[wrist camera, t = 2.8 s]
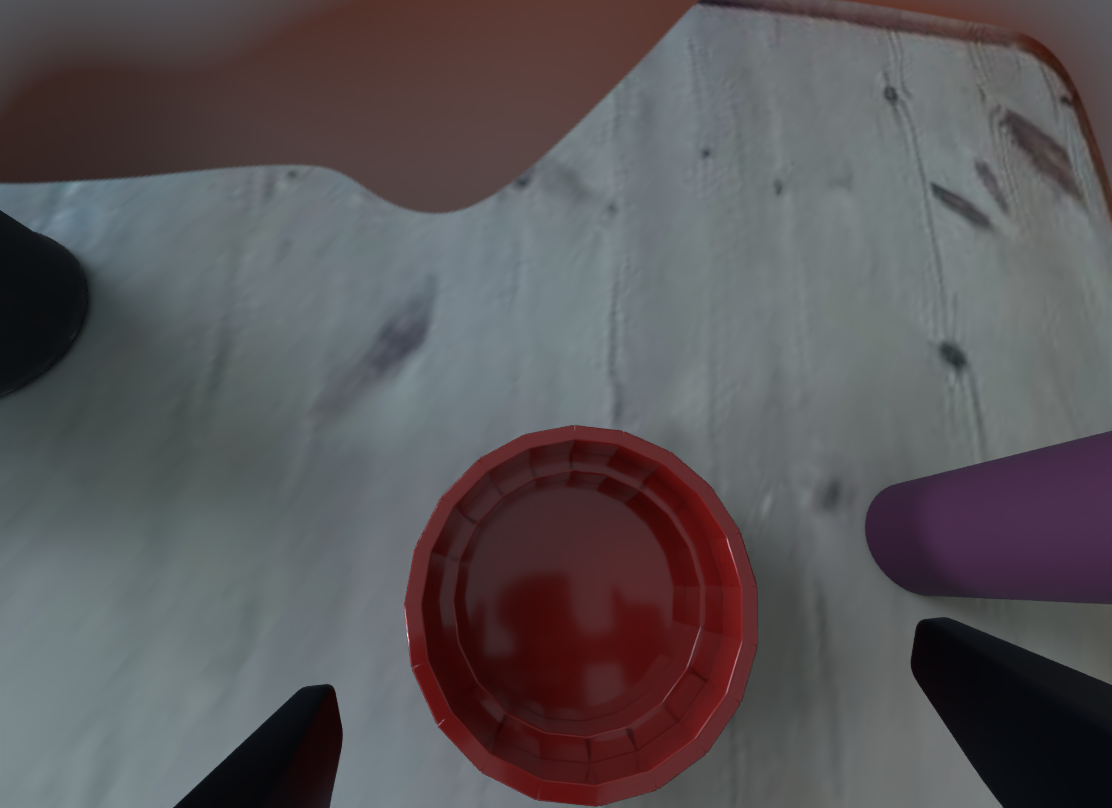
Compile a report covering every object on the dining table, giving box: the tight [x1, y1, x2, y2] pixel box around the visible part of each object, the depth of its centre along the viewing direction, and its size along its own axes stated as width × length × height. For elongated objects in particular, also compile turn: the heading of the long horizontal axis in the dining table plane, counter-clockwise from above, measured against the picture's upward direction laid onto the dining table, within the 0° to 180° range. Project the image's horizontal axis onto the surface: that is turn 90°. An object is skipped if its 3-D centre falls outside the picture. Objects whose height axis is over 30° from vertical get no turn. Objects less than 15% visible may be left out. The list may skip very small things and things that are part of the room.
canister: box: [865, 431, 1112, 604], centre depth 18 cm, size 5×5×13 cm
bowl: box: [404, 425, 758, 807], centre depth 20 cm, size 12×12×4 cm
